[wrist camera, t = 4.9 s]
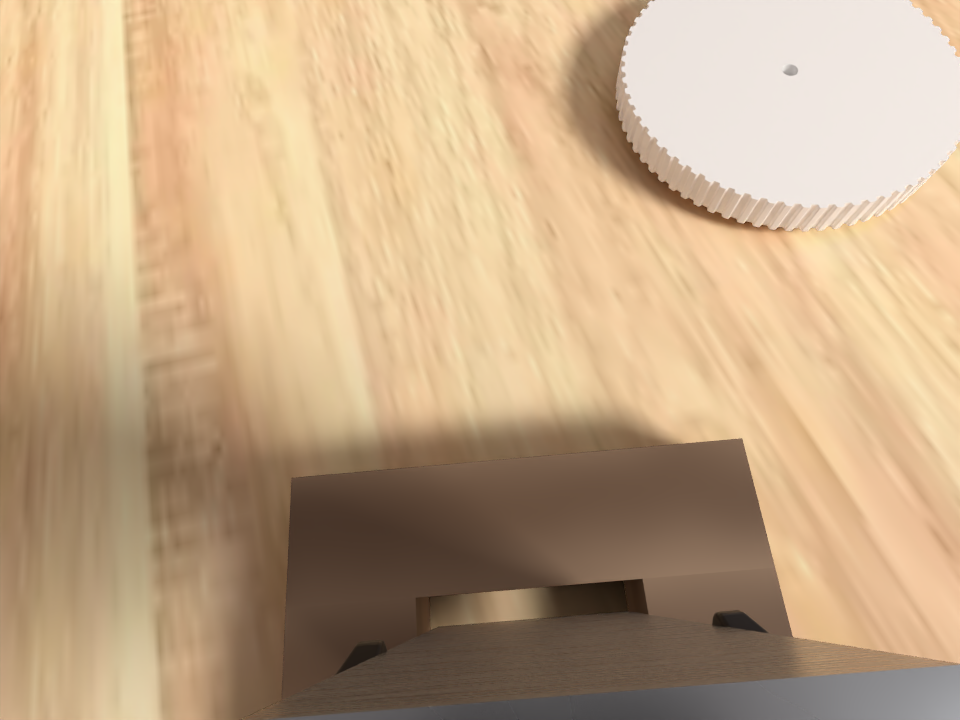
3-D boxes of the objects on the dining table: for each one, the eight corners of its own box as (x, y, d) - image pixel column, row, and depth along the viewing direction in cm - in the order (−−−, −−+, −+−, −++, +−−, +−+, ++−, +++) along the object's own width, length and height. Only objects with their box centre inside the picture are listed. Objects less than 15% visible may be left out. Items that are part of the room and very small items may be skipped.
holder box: (808, 885, 16) (872, 948, 13) (310, 923, 16) (268, 992, 13) (710, 459, 20) (742, 438, 18) (321, 493, 21) (291, 478, 18)
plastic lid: (555, 82, 28) (558, 36, 26) (782, -27, 30) (805, -80, 28) (743, 301, 23) (769, 268, 21) (999, 153, 25) (1049, 108, 23)
